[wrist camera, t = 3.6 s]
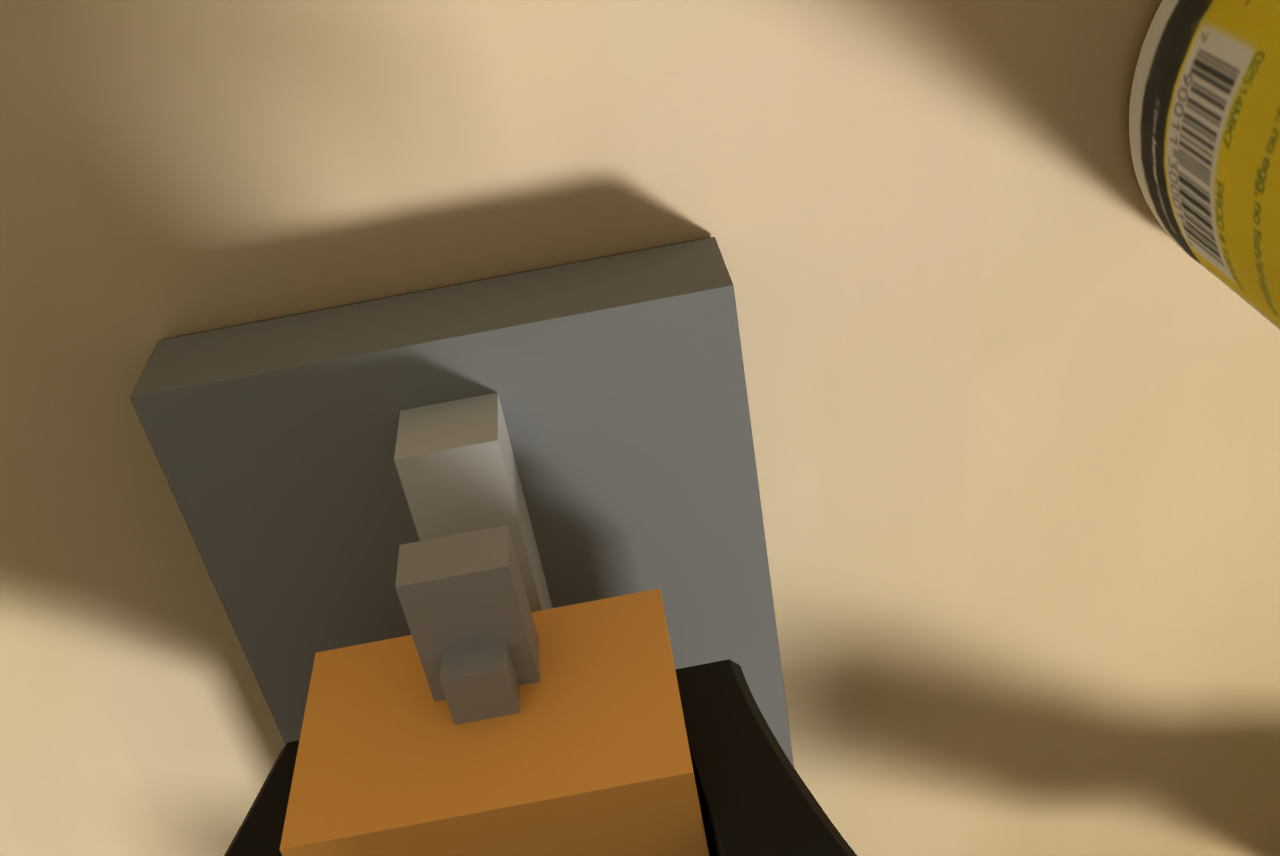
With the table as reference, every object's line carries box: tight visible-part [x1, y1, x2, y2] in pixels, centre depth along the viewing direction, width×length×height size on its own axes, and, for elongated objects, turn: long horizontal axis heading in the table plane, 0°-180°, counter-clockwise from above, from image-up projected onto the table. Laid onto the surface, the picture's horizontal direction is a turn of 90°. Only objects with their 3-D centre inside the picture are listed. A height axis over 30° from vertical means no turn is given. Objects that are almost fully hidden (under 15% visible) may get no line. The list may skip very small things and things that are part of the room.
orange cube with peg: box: [280, 525, 710, 856], centre depth 12 cm, size 5×4×2 cm, turn 9°
